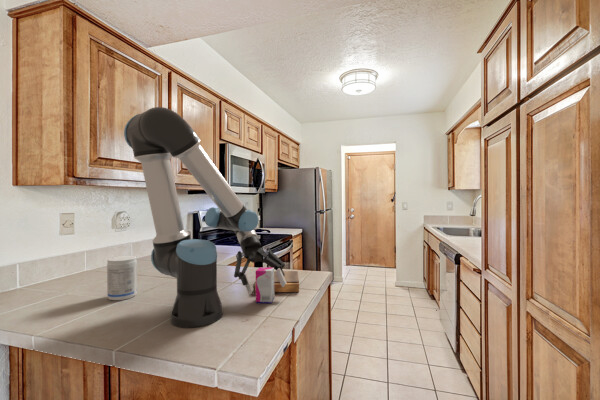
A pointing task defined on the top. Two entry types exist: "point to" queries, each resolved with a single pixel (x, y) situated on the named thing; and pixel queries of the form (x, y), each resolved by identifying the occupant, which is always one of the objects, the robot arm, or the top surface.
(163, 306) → the top surface
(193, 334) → the top surface
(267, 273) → the supplement box
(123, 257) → the supplement tub
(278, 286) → the dock
